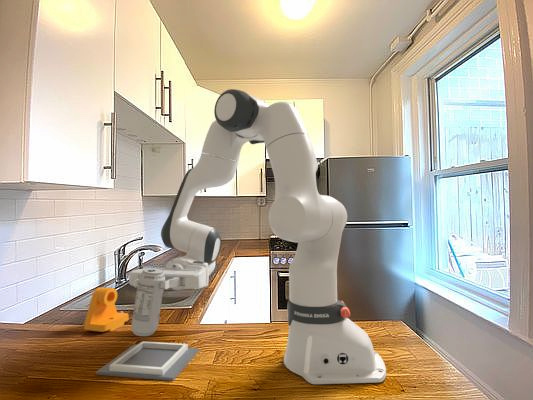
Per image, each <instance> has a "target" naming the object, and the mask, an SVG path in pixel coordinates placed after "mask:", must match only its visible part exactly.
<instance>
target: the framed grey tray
mask: <svg viewBox="0 0 533 400" xmlns="http://www.w3.org/2000/svg"><path fill="white" fill-rule="evenodd" d="M199 351H200V348H199V347H198V348H197V347H189V343H180V342H178V343H176V342H159V341H141V342H140V343H137V344H132V345H131V346H130V347H129V348H128V349H126V350H124V351H122V353H120V354H119V355H117V356H115V358H113V359H112V360H110V361H109V362H108V363H106V364H104V365H103V366H102V367H101V368H99V369H98V370H96V372H95V375H98V376H99V375H100V376H108V377H109V376H111V377H123V378H134V379H146V380H156V381H158V380H160V381H170V382H174V380H175V379H176V378H177V377H178V376H179V375H180V374H181V373H182V371H183V370H184V369H185V368H186V367H187V366H188V364H189V363H190V362H191V361H192V360H193V358H194V357H195V356H196V355H197V354H198V353H197V352H199ZM196 353H197V354H196ZM195 354H196V355H195ZM194 355H195V356H194ZM191 359H192V360H191ZM190 360H191V361H190ZM185 366H186V367H185Z"/></svg>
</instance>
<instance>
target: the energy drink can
mask: <svg viewBox="0 0 533 400" xmlns="http://www.w3.org/2000/svg"><path fill="white" fill-rule="evenodd" d="M143 268H144V269H143ZM143 268H142V269H143V270H142V273H141V274H140V275H139V279H138V285H137V287H136V293H135V298H134V299H135V300H134V306H133V313H132V319H131V326H130V328H131V330H132V333H133V334H134V335H135V336H137V337H149V336H151V335H153V334H154V333H155V332H156V331H157V330H158V327H159V321H160V316H161V308H162V302H163V301H162V300H163V295H164V290H165V289H160V286H161V285H160V282H161V281H163V280H165V276H164V273H163V272H164V270H163V269H160V268H161V267H143Z"/></svg>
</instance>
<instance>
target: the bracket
mask: <svg viewBox="0 0 533 400" xmlns="http://www.w3.org/2000/svg"><path fill="white" fill-rule="evenodd" d="M117 299H118V290H117V289H116V288H114V287H103V286H102V287H97V288H96V289H95V290H94V291H93V293H92V295H91V299H90V303H89V306H88V308H87V312H86V316H85V319H84V323H83V330H86V331H93V332H102V333H104V332H113V331H114V330H117V329H118V328H120V327H122V326H124V325H125V322H128V321H129V318H130V317H129V312H128V313H127V312H126V313H125V312H118V311H117V308H116V301H117Z"/></svg>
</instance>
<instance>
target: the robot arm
mask: <svg viewBox="0 0 533 400" xmlns="http://www.w3.org/2000/svg"><path fill="white" fill-rule="evenodd" d="M213 113H214V118H215V120H214V121H213V122H211V124H210V126H209V129H208V130H207V133H206V136H205V138H204V142H203V145H202V149H201V153H200V156H199V159H198V162H197V163H196V164H195V166H194V167H193V168H189V169H188V170H187V171H186V173H185V174H184V177H183V178H182V181H181V184H180V186H179V189H178V190H177V194H176V196H175V199H174V201H173V203H172V204H173V205H172V206H171V210H170V212H169V214H168V217H167V218H166V220H165V222H164V223H163V226H162V227H161V230H160V231H161V232H160V237H161V240H162V243H163V244H164V246H165V247H166V248H168V249H172V250H176V251H180V252H183V253H186V254H185V255H182V256H180V257H179V256H178V257H176V258H172V259H170V260H169V261H168V262H167V263H166V264H165V266H164V267H159V268H160V269H163V270H164V272H163V273H164V276H165V280H163V281H161V282H160V285H161V286H160V289H164V290H169V289H171V290H174V291H178V292H179V291H184V290H200V289H202V288H206V287H208V286H209V280H210V279H209V278H210V276H211V274H212V273H213V272H214V270H215V268H216V260H217V259H218V257H219V254H220V252H221V249H222V238H221V234H220V233H219V231H218V229H217V228H216V227H212V226H209V225H206V224H204V223H203V224H202V223H198V222H195V221H193V220H189V218H188V214H189V211H190V209H191V206H192V203H193V201H194V199H195V196H196V194H197V193H198V192H199V191H201V190H204V189H211V188H217V187H221V186H225V185H227V184H229V183H230V182H231V181H232V180H233V178H234V177H235V174H236V172H237V169H238V165H239V160H240V155H241V150H242V149H243V146H244V145H245V144H246V143H247V142H249V143H250V144H251V145H256V144H262V143H264V144H265V149H266V152H267V156H268V159H269V162H270V166H271V170H272V173H273V177H274V188H275V189H274V191H275V192H274V193H275V194H274V201H273V203H272V204H271V206H270V208H269V212H268V224H269V228H270V230H271V231H272V233H273V234H274V235H275V236H276V237H277V238H279V239H280V240H283V241H288V242H292V243H295V244H296V243H297V248H296V250H295V251H296V252H295V254H294V257H293V259H292V260H291V262H290V263H289V266H288V267H289V268H288V283H289V284H288V285H289V289H288V290H289V298H288V301H287V304H286V305H287V306H286V307H287V309H286V313H287V314H286V315H287V316H286V317H287V324H288V335H287V343H286V348H285V353H284V355H283V356H284V357H283V364H284V366H285V367H286V368H287V369H288V370H289V371H290V372H292V373H294V374H295V375H299V376H300V377H302V378H303V379H304V380H305V381H306V382H307V383H309V384H312V385H332V384H333V385H335V384H338V385H340V384H367V383H368V384H369V383H372V384H373V383H383V381H385V380H386V378H387V368H386V365H385V362H384V360H383V358H382V357H381V355H380V354H379V353H378V352H377V351H375V350H374V347H373V346H374V345H373V343H372V341H371V339H370V337H369V336H370V335H368V333H367V332H366V331H365V330H364V329H362V328H361V327H360V326H358V324H356V323H355V322H353V321H352V320H351V319H350V317H351V312H350V309H349V308H348V307H347V304H346V303H345V302H344V301H343V300H339V299H338V271H337V270H338V262H339V261H338V259H339V255H340V248H341V242H342V236H343V231H344V229H345V226H346V225H347V223H348V212H347V209H346V207H345V206H344V205H343V203H342V202H340V201H339V200H338V199H336V198H334V197H332V196H330V195H325V194H320V193H319V191H318V186H317V175H316V174H317V171H318V168H319V163H318V160H317V157H316V154H315V150H314V148H313V146H312V142H311V139H310V136H309V134H308V131H307V128H306V126H305V124H304V121H303V119H302V118H301V116H300V113H299V112H298V111H297V109H296V108H295V106H294V105H292V104H291V103H289V102H287V101H278V102H277V101H276V102H274V103H272V104H270V105H269V104H268V103H267V102H264V100H261V98H259V97H257V96H254V95H252V94H249V93H247V92H246V91H244V90H240V89H232V88H229V89H226V90H224V91H223V92H222V93H220V95H219V96H218V98H217V100H216V102H215V104H214V109H213ZM144 268H145V267H143V268H140V269H134V270H131V271H130V272H129V273H128V274H129V277H128V282H129V283H128V284H129V285H130V286H133V288H137V285H138V279H139V275H140V274H141V273H142V270H143V269H144Z"/></svg>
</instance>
